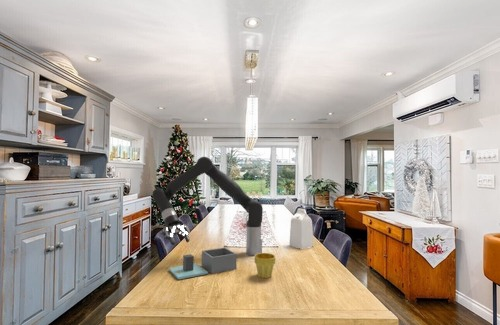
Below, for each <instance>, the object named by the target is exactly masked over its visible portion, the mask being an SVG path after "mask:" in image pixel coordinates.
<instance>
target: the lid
mask: <svg viewBox="0 0 500 325" xmlns="http://www.w3.org/2000/svg"><path fill="white" fill-rule="evenodd" d="M194 261H195V259H194V255H192V254H191V253H190V254H184V255H183V256H182V265H179V266H173V267H168V271H169V272H170V273H171V274H172V275H173V276H174V277H175V278H176V279H177V280H184V279H188V278H193V277H198V276H203V275H207V274H209V273H208V272H209V271H208V270H207V269H205V268H204V267H203V266H202V265H200V264H198V263H194Z"/></svg>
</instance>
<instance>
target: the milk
mask: <svg viewBox="0 0 500 325" xmlns="http://www.w3.org/2000/svg"><path fill="white" fill-rule="evenodd" d="M289 230H290V231H289V232H290V233H289V246H291V247H293V248H296V249H299V248H300V249H299V250H305V249H304V248H306V249H309V248H308V247H311V248H313V247H314V232H313V230H314V229H313V220H312V218H311V217H310V216H309V215H308V214H307V211H306V209H304V208H297V211H296V213H294V215H293V216H292V217H291V219H290V229H289ZM312 246H313V247H312Z"/></svg>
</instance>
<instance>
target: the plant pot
mask: <svg viewBox="0 0 500 325" xmlns="http://www.w3.org/2000/svg"><path fill="white" fill-rule="evenodd" d="M254 263H255V266H256V271H257V276H258V277H259V278H263V279H268V278H271V277H272V274H273V270H274V265H275V264H276V255H275V254H273V253H270V252H262V253H258V254H256V255H254Z"/></svg>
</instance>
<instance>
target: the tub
mask: <svg viewBox="0 0 500 325" xmlns="http://www.w3.org/2000/svg"><path fill="white" fill-rule="evenodd" d="M237 255H238V254H237V253H236V252H234V251H232V250H231V249H229V248H227V247H219V248H213V249H205V250H202V251H201V267H202V268H204V269H205V270H206V271H208V272H209V273H211V274H213V275H214V274H218V273H223V272H228V271H235V270H237V261H238V260H237Z"/></svg>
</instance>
